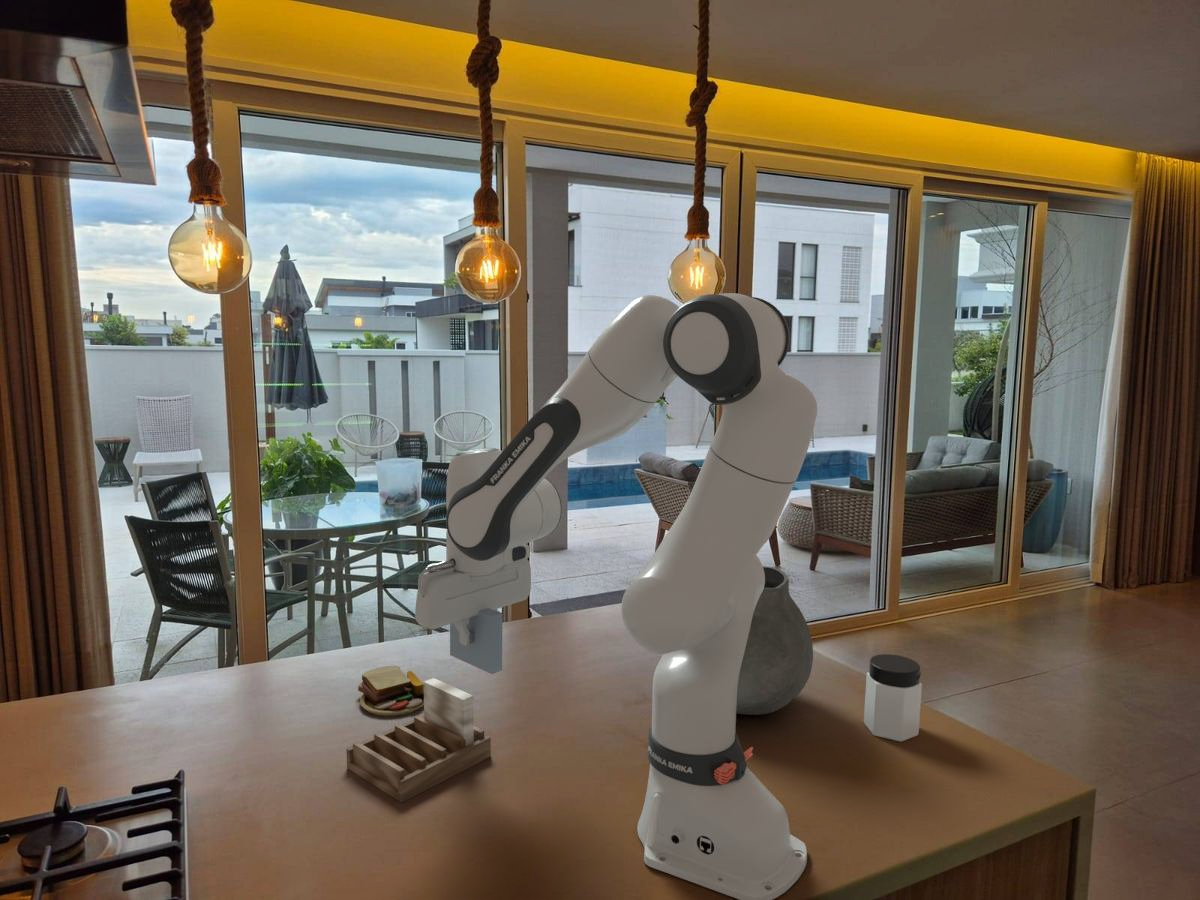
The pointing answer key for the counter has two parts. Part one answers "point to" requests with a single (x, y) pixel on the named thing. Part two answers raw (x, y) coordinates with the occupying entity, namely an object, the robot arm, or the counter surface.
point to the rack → (423, 745)
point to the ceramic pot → (774, 650)
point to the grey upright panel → (481, 641)
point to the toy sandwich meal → (391, 691)
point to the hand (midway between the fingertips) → (475, 640)
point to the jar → (893, 697)
